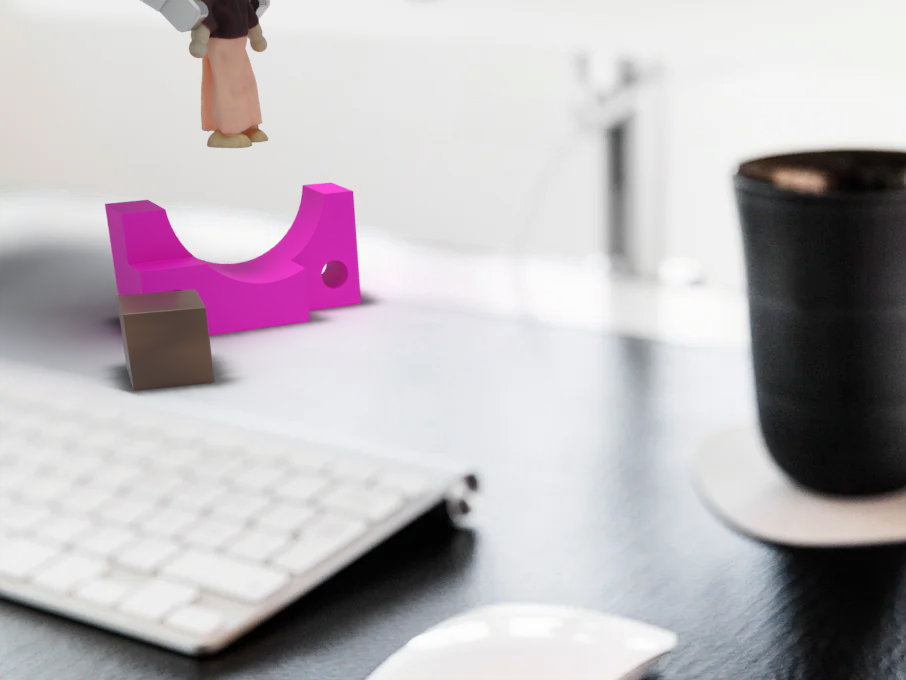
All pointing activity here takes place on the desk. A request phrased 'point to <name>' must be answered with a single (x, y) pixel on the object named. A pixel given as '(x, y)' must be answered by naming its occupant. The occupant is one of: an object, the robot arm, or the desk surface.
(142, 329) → the walnut cube
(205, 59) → the grandmother figurine
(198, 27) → the robot arm
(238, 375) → the desk surface
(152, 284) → the toy block
